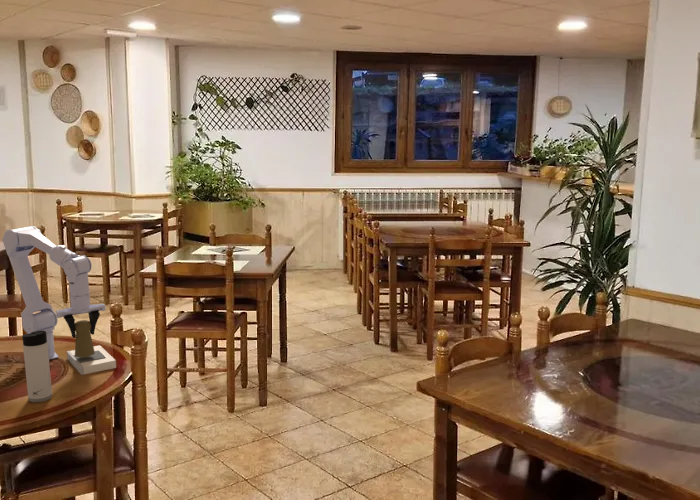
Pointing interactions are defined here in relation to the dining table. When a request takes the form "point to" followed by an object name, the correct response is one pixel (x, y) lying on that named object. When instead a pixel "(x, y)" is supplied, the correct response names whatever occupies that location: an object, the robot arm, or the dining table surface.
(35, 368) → the travel mug
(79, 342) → the cork
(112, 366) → the dock board
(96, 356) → the mat
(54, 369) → the dining table surface
